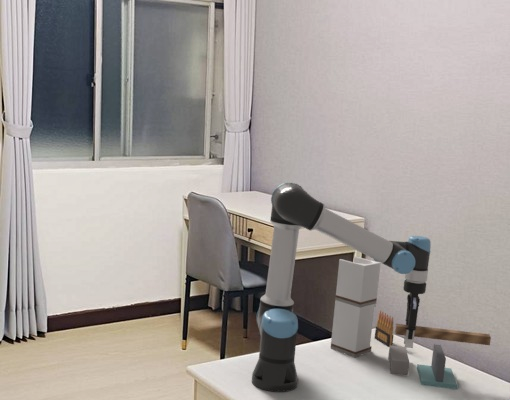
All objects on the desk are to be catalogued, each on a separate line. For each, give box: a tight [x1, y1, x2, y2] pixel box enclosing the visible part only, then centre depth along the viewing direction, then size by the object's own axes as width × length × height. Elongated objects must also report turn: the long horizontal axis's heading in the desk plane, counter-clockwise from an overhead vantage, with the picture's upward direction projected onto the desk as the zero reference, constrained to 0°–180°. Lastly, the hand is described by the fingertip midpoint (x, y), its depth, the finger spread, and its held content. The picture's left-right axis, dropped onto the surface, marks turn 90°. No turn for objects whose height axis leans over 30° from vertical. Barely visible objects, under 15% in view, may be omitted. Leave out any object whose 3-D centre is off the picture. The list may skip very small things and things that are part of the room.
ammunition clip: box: [374, 310, 394, 348], centre depth 280 cm, size 11×2×12 cm, turn 22°
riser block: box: [387, 345, 410, 377], centre depth 254 cm, size 6×16×5 cm, turn 172°
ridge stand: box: [416, 344, 459, 390], centre depth 246 cm, size 12×16×10 cm
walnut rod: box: [394, 323, 492, 346], centre depth 244 cm, size 32×3×3 cm, turn 82°
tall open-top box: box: [330, 256, 382, 358], centre depth 266 cm, size 11×11×35 cm
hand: (408, 345), depth 246 cm, fingers closed on walnut rod, 3 cm apart
